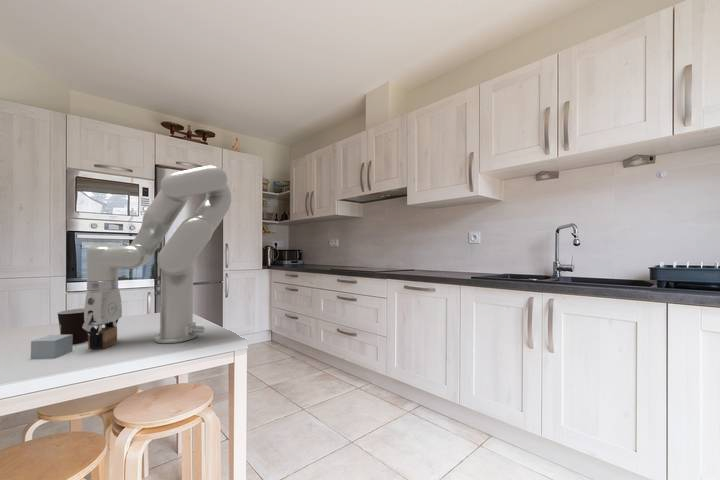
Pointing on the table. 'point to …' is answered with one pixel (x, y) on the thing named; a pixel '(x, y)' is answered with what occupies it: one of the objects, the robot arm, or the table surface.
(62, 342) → the slate block
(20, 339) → the table surface
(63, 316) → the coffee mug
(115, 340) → the walnut block
